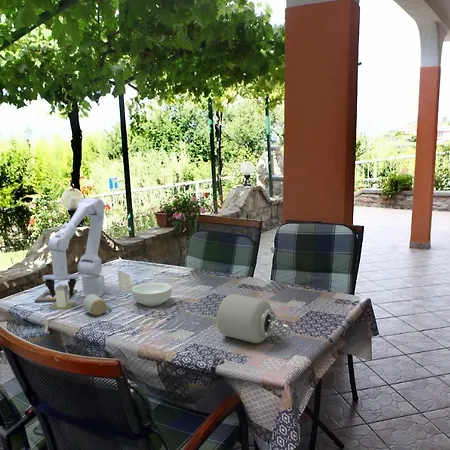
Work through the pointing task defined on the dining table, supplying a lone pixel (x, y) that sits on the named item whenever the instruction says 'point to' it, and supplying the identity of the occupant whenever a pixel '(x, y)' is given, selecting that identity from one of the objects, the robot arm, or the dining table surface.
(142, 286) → the cereal bowl
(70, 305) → the rubber mat
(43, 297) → the grey square frame
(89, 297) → the ceramic mug
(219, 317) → the jar
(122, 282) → the white wedge bracket
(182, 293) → the dining table surface
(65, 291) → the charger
